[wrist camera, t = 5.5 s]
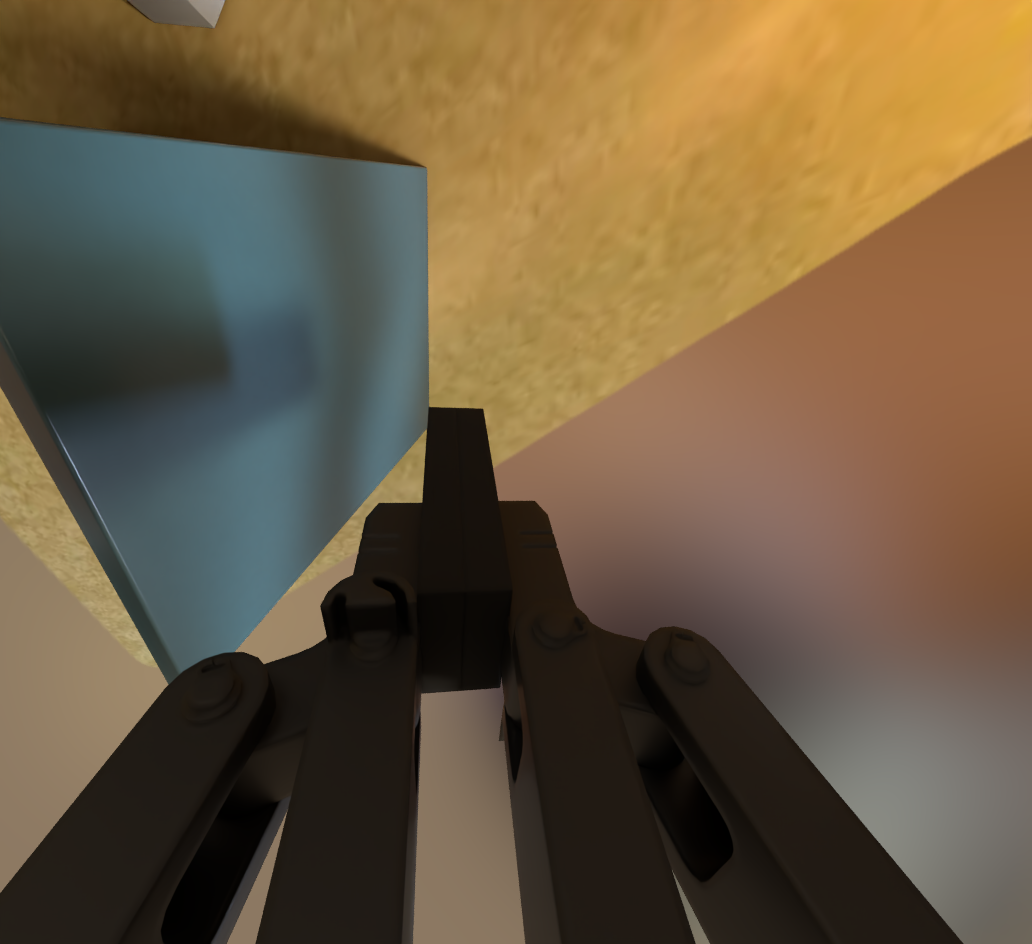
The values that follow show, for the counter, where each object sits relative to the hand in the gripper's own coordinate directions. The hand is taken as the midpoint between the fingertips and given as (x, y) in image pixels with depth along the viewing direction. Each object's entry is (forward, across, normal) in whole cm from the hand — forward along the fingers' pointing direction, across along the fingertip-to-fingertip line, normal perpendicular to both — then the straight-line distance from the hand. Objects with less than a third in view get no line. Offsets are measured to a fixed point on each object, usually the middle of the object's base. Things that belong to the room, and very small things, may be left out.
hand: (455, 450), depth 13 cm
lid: (+6, -5, 0) cm, 8 cm away
